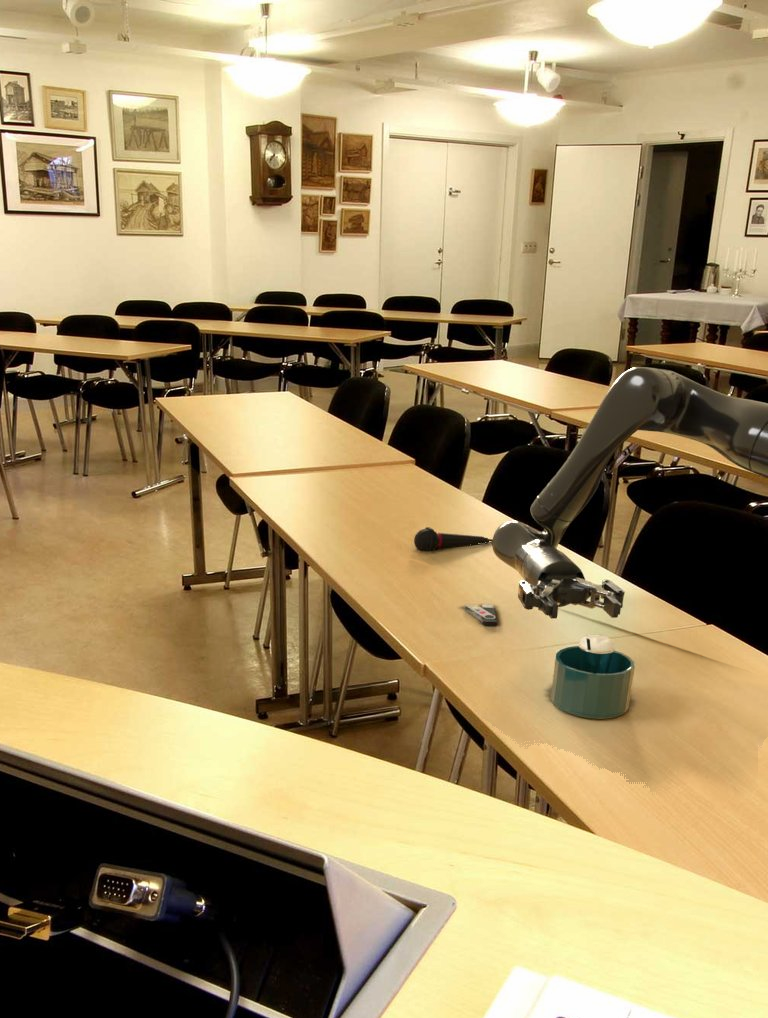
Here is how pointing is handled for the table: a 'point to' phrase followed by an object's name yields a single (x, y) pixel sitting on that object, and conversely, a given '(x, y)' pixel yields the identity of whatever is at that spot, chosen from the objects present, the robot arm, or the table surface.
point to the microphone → (444, 540)
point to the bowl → (592, 686)
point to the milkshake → (595, 654)
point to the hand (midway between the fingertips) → (585, 611)
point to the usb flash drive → (483, 613)
